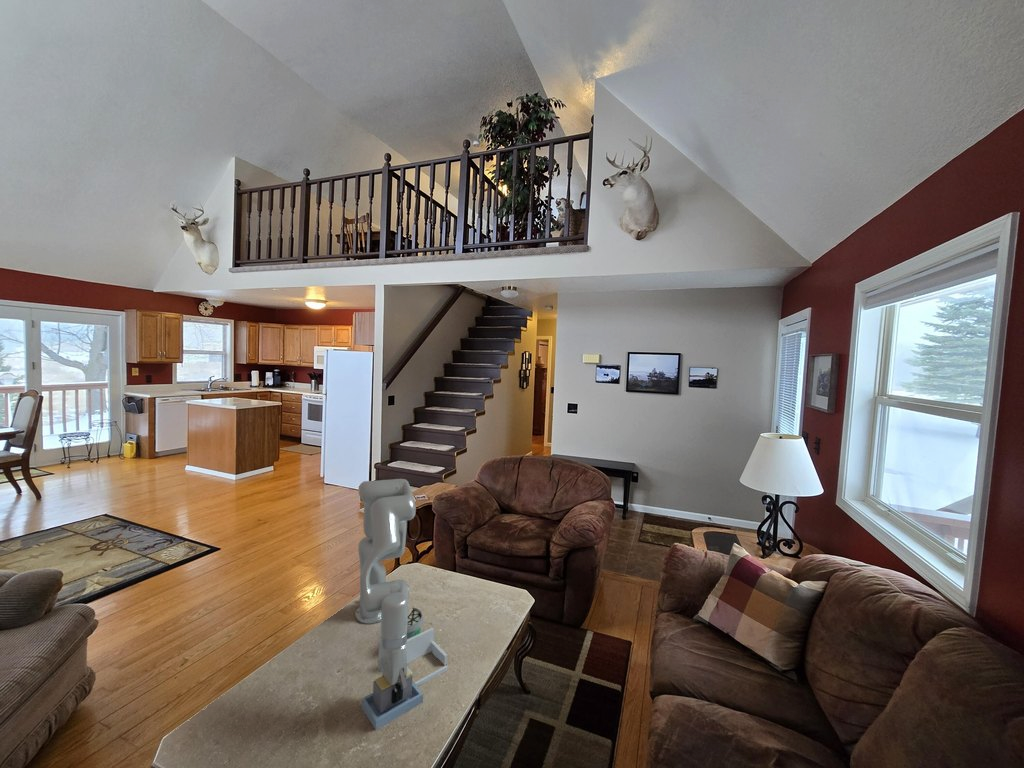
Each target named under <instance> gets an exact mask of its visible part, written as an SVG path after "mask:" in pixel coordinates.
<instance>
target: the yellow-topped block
mask: <svg viewBox="0 0 1024 768" xmlns="http://www.w3.org/2000/svg"><path fill="white" fill-rule="evenodd" d="M405 679H406V683H407V687H406V688H404V689H403V698H402V699H401V700H400V701H398V702H396V703H394V704H393V703H392V690H393V685H391V684H390V683H389V682H388V681H387V679H386V678H385V677H384V675H382V676H380V677H377V678H375V679H374V681H372V683H373V684H372V687H373V688H372V693H373V703H374V704H375V706H376V707H377V709H378V710H379V712H380V713H382V712H383V711H385V710H387V709H389V708H390V707H392V706H394V705H396V704H397V703H399V702H401V701H403V700H405V699H406V698H408V697H410V696H412V681H413V675H412V674H411V673H410V672H409V671H408V669H407V676H406V678H405ZM398 685H400V681H398V682H397V683H396V686H398Z"/></svg>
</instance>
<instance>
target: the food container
mask: <svg viewBox="0 0 1024 768" xmlns="http://www.w3.org/2000/svg"><path fill="white" fill-rule="evenodd" d="M423 624H424V616H423V613H422V611H421V610H420V609H418V608H416V607H414V606H413V607H412V610H411V612H410V613H409V614H408V624H407V639H409V638H411V637H413V636H416V635H418V634H420V633H422V631H421V630H422V626H423Z"/></svg>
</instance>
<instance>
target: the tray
mask: <svg viewBox="0 0 1024 768" xmlns="http://www.w3.org/2000/svg"><path fill="white" fill-rule="evenodd" d="M423 703H424V694H423V692H422V691H421V689H419V686H418V687H417V686H416V685H415V682H413V680H412V696H410V697H408V698H406V699H405V700H403V701H401V702H399V703H397V704H396V705H394V706H392V707H390V708H389V709H387V710H385V711H383V712H382V713H380V712H379V710H378V709H377V707H376V706H375V704H374V703H373V692H372V693H370V694H368V695H366V696H364V697H362V698H361V709H362V710H363V712H364V713H365V715H366V717H367V718H368V719H369V722H370V723H371V725H372V726H373V727H374V729H375V731H376V730H378V729H380V728H382V727H384V726H386V725H387V724H389V723H390V722H393V721H394V720H395V719H397V718H399V717H401V716H402V715H404V714H406V713H408V712H409V711H410V710H412V709H414V708H416V707H417V706H419V705H421V704H423Z"/></svg>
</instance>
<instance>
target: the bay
mask: <svg viewBox="0 0 1024 768" xmlns="http://www.w3.org/2000/svg"><path fill="white" fill-rule="evenodd" d="M406 650H407V663H408V664H409V662H410V663H411V661H412V662H413V660H414V661H415V660H418V659H419V658H421V657H423V656H425V655H428V654H429V653H431V654H433V655H434V657H436V659H437V658H438V659H439V660H440V661H441V662H442V663H443V664H444V665H445V666H444V665H443V664H442V663H441V662H440V661H439V660H438V659H437V660H438V661H439V662H440V663H441V664H442V665H443V666H442V667H440V668H439V669H437V670H435V671H433V672H431V673H429V674H428V675H426V676H424V677H422V678H420V679H418V680H417V681H415V682H414V684H415V685H416V686H417V687H418V688H419V687H420V686H421V685H423V684H425V683H427V682H428V681H430V680H432V679H435V678H436V677H437V676H439V675H442V674H443V673H445V672H447V671H448V670H449V665H448V654H447V653H446V652H445V651H444V650H443V649H442V647H440V646H439V645H438V644H437V643H436V642H435V628H434V627H430V628H429V629H427V630H425V631H421V632H420V634H418V635H416V636H413V637H411V638H409V639H407V643H406ZM422 655H423V656H422ZM420 656H421V657H420ZM418 657H419V658H418ZM446 664H447V665H446ZM407 669H408V671H409V672H410V673H411V674H412V676H413V672H412V670H411V669H410V668H409V667H408V666H407Z"/></svg>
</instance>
